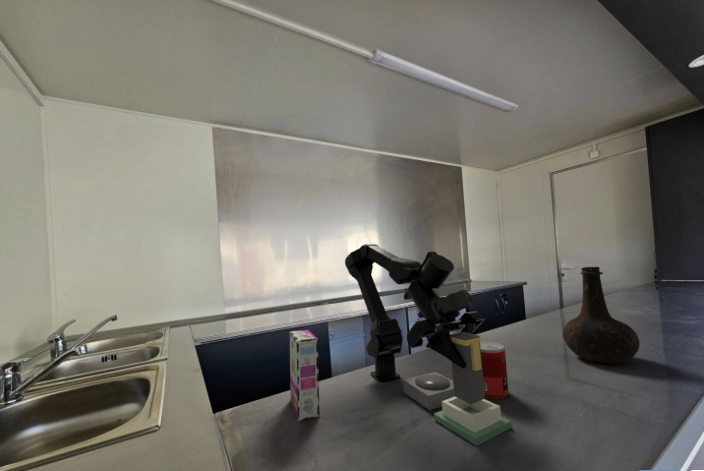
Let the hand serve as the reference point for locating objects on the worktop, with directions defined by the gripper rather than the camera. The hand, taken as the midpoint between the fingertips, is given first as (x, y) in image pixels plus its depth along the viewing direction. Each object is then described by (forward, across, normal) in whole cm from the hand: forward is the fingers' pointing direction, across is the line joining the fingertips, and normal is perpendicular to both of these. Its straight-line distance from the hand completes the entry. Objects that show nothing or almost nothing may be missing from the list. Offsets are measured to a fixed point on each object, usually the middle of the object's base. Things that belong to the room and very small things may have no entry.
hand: (472, 365), depth 56 cm
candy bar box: (-10, -26, +27) cm, 38 cm away
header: (+7, 0, +9) cm, 12 cm away
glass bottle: (+6, +60, +10) cm, 62 cm away
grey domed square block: (-2, +2, +18) cm, 18 cm away
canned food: (+3, +15, +14) cm, 20 cm away
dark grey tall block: (+4, 0, +6) cm, 7 cm away
